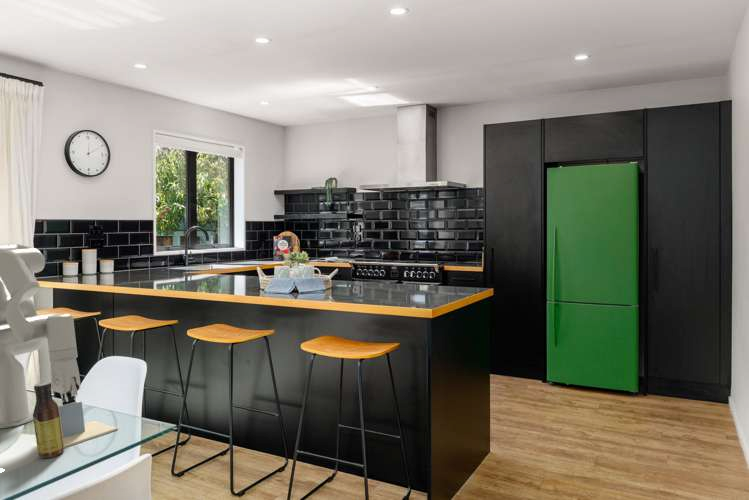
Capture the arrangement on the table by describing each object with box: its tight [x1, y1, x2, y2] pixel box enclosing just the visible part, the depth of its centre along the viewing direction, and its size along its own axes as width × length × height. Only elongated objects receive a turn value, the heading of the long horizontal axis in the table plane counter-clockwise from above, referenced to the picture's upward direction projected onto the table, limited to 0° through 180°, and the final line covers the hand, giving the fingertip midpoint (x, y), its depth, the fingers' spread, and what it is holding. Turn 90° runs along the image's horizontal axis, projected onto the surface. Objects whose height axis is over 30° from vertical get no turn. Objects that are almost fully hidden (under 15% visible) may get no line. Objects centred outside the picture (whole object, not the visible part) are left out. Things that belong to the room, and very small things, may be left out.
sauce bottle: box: [32, 381, 65, 459], centre depth 154 cm, size 6×6×20 cm
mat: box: [63, 420, 119, 449], centre depth 170 cm, size 16×16×1 cm
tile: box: [58, 400, 85, 438], centre depth 169 cm, size 2×9×6 cm
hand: (70, 413), depth 175 cm, fingers closed
